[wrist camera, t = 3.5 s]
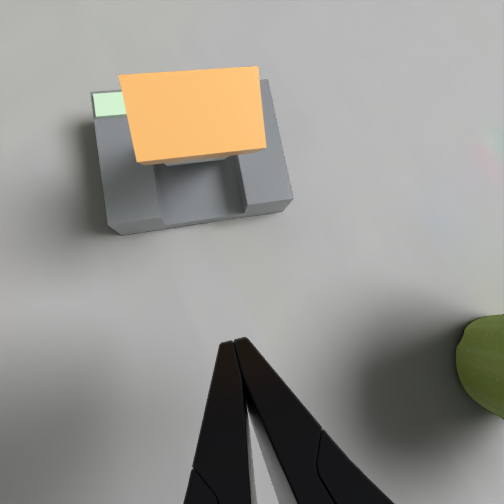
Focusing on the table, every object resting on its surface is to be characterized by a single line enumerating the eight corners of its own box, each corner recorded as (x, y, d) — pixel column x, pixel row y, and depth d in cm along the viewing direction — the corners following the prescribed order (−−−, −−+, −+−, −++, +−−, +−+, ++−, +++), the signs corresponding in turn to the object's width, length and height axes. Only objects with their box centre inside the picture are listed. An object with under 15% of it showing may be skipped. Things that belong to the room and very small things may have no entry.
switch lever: (230, 164, 21) (266, 147, 11) (162, 172, 21) (136, 162, 11) (224, 123, 21) (258, 65, 11) (154, 130, 20) (118, 75, 10)
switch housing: (282, 211, 23) (294, 197, 20) (121, 235, 21) (106, 224, 18) (260, 105, 24) (268, 77, 21) (105, 119, 22) (89, 89, 19)
